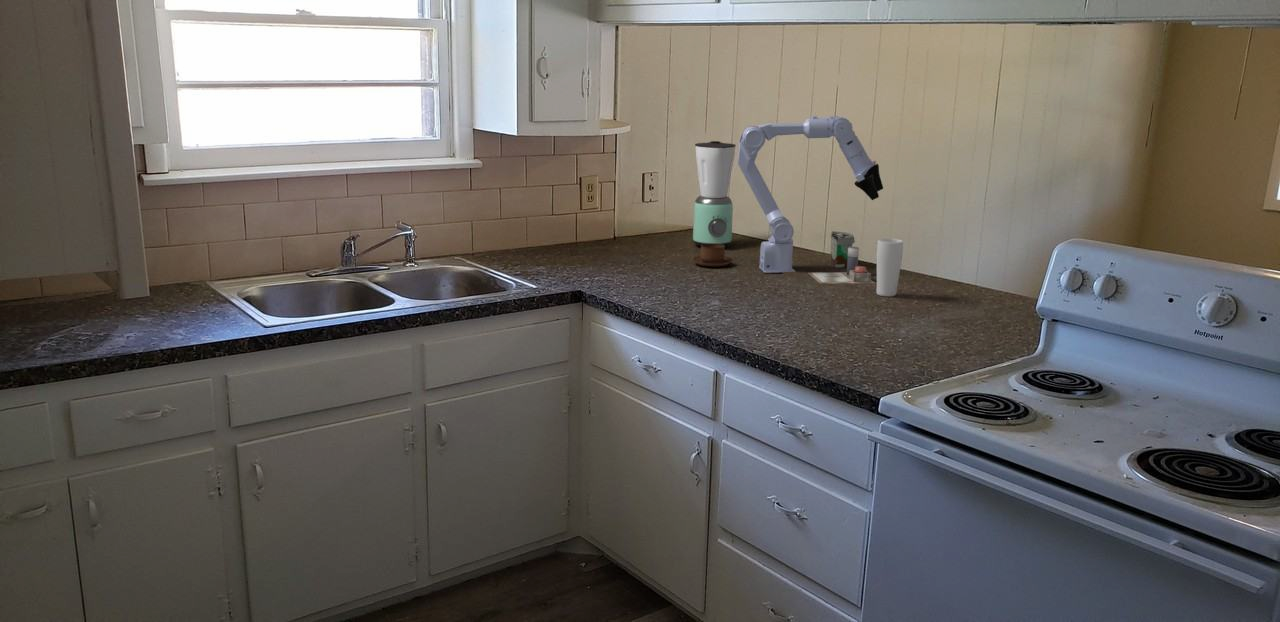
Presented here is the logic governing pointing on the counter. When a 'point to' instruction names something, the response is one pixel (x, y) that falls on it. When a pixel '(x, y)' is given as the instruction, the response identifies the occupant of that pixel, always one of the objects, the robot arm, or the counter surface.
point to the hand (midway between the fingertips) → (877, 194)
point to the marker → (852, 258)
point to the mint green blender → (713, 194)
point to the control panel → (842, 277)
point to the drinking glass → (888, 266)
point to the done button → (860, 269)
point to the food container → (840, 248)
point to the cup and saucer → (712, 256)
